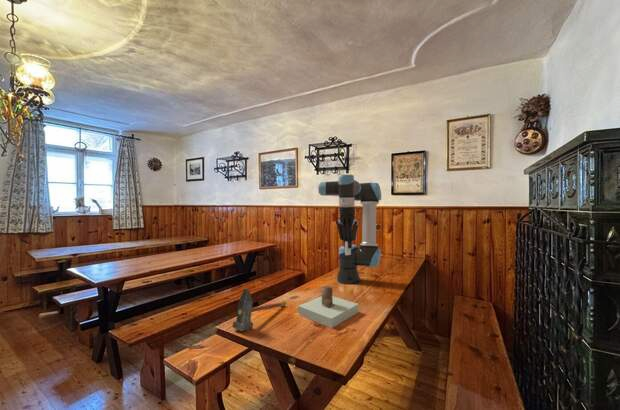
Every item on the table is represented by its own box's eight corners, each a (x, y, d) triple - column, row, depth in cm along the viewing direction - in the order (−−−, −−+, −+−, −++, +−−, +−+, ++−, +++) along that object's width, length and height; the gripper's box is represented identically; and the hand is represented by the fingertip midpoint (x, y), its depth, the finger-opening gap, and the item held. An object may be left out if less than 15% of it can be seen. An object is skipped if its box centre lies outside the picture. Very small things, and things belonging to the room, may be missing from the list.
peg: (326, 309, 125) (325, 285, 125) (335, 312, 122) (334, 287, 121) (319, 313, 121) (318, 288, 121) (328, 316, 118) (327, 290, 117)
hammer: (290, 286, 132) (247, 290, 107) (287, 319, 129) (242, 331, 104) (281, 284, 135) (237, 288, 110) (277, 316, 132) (232, 328, 107)
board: (326, 301, 135) (325, 294, 135) (358, 312, 121) (358, 303, 121) (298, 314, 121) (298, 305, 121) (331, 328, 107) (331, 318, 107)
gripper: (331, 206, 127) (332, 254, 128) (353, 206, 118) (354, 257, 119) (340, 206, 133) (341, 251, 133) (362, 206, 124) (363, 255, 124)
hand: (347, 254), depth 126 cm, fingers closed
